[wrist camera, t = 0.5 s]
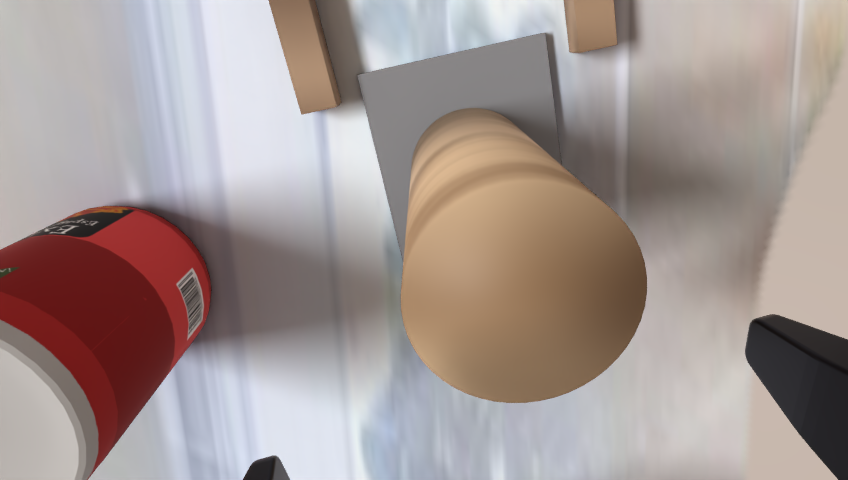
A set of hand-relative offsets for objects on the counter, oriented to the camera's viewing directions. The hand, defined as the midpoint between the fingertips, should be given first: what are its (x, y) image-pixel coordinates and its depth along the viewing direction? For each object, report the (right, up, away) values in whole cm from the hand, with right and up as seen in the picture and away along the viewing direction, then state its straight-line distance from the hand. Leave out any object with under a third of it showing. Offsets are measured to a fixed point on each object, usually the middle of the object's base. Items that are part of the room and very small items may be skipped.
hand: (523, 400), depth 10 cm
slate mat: (0, +6, +15) cm, 16 cm away
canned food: (-16, +1, +17) cm, 23 cm away
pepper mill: (0, +6, +14) cm, 15 cm away
